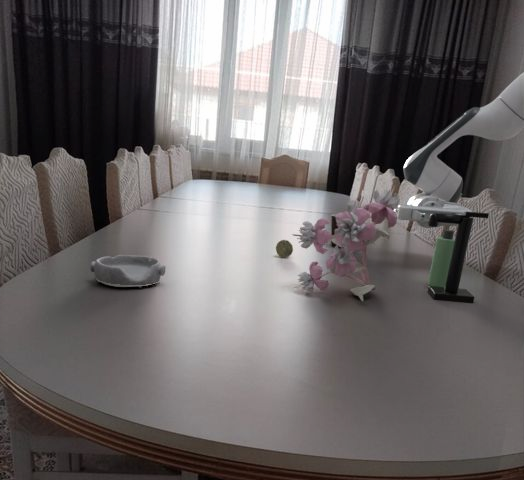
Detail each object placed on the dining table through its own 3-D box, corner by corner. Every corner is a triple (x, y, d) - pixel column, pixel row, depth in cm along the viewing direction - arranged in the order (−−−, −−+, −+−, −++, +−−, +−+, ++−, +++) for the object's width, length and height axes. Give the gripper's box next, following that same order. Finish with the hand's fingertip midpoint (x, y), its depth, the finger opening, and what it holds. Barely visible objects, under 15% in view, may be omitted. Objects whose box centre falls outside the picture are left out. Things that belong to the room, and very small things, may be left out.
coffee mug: (326, 246, 173) (330, 216, 169) (329, 242, 181) (332, 213, 177) (361, 250, 171) (365, 220, 167) (362, 246, 179) (367, 217, 175)
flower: (320, 268, 135) (304, 178, 118) (407, 274, 125) (402, 177, 108) (291, 317, 123) (268, 225, 106) (384, 329, 112) (375, 228, 96)
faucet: (464, 294, 126) (483, 211, 119) (473, 303, 120) (493, 215, 112) (412, 290, 127) (428, 207, 119) (418, 298, 120) (435, 210, 113)
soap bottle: (441, 282, 136) (453, 229, 131) (452, 288, 131) (464, 232, 126) (424, 282, 135) (434, 228, 130) (434, 288, 130) (445, 231, 125)
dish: (173, 284, 116) (173, 262, 114) (121, 294, 106) (121, 270, 104) (132, 271, 125) (132, 250, 123) (81, 279, 114) (79, 257, 113)
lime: (294, 257, 153) (295, 240, 151) (283, 259, 150) (284, 241, 148) (282, 254, 156) (284, 238, 154) (272, 256, 152) (273, 239, 151)
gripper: (394, 198, 151) (402, 202, 138) (465, 203, 150) (480, 208, 137) (391, 220, 153) (398, 227, 140) (461, 225, 152) (475, 232, 139)
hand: (439, 218), depth 139 cm, fingers open, 8 cm apart
